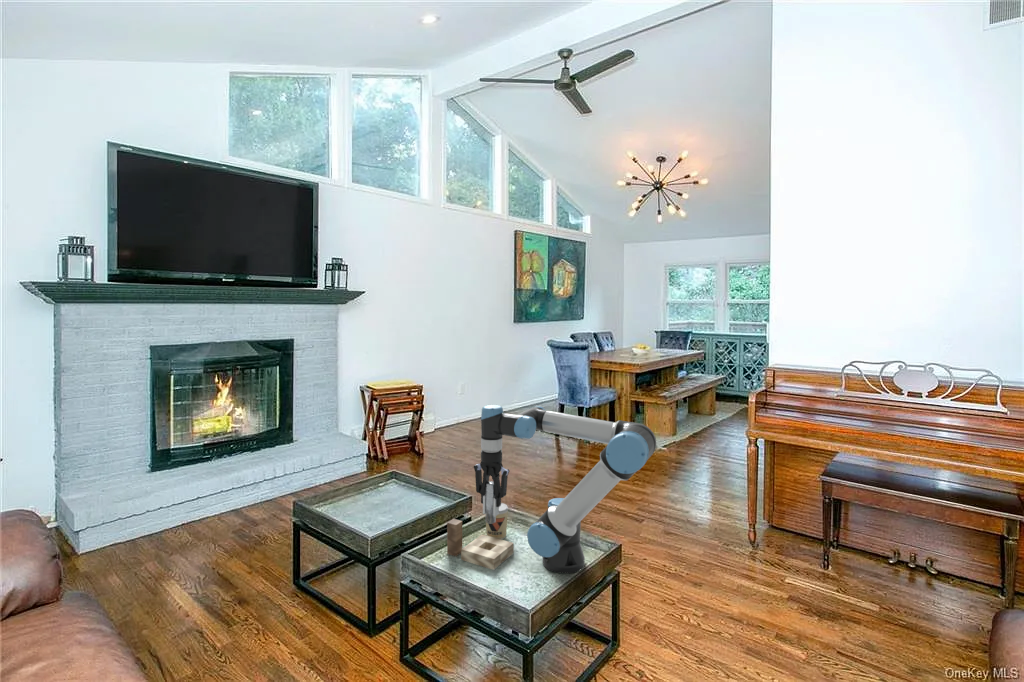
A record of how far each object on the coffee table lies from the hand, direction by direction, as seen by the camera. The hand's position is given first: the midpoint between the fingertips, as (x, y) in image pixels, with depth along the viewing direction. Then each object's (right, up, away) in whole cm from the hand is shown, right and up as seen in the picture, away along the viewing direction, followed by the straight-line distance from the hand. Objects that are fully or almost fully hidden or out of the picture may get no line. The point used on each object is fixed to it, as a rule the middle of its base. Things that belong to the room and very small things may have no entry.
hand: (490, 513), depth 187 cm
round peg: (0, -3, 0) cm, 3 cm away
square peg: (-14, -18, +10) cm, 25 cm away
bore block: (-1, -18, +7) cm, 20 cm away
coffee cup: (+1, -17, +24) cm, 29 cm away
